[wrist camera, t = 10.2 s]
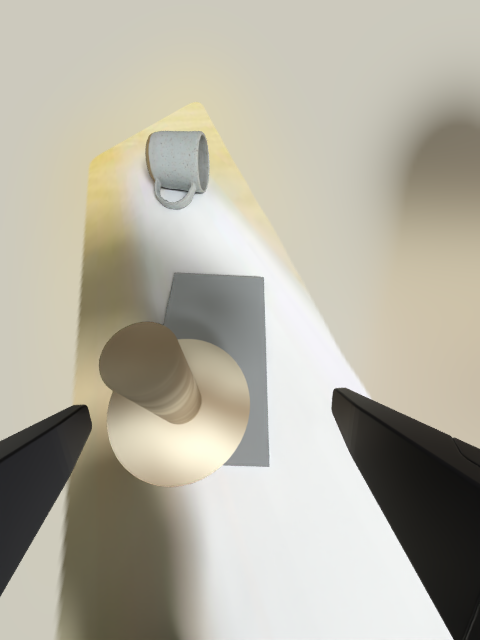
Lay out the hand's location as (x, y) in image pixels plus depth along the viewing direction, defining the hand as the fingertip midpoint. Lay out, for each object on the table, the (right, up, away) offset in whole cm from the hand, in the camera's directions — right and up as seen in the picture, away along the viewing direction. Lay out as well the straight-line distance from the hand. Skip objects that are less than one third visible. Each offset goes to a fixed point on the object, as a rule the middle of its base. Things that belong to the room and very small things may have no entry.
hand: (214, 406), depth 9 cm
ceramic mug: (-8, +24, +30) cm, 40 cm away
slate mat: (-2, 0, +16) cm, 16 cm away
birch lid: (-3, -3, +9) cm, 10 cm away
